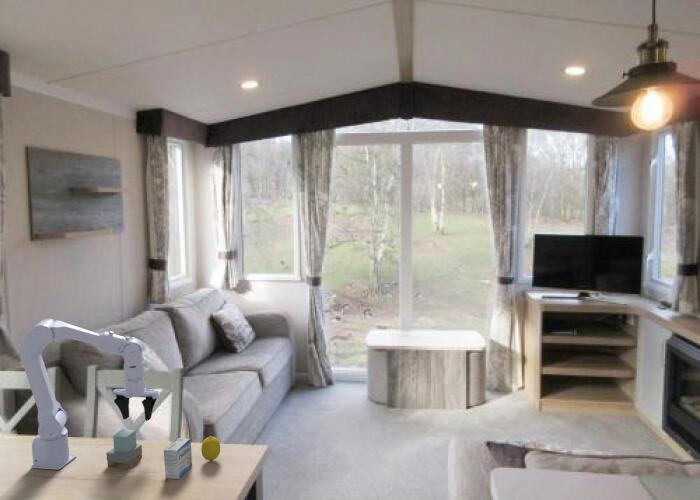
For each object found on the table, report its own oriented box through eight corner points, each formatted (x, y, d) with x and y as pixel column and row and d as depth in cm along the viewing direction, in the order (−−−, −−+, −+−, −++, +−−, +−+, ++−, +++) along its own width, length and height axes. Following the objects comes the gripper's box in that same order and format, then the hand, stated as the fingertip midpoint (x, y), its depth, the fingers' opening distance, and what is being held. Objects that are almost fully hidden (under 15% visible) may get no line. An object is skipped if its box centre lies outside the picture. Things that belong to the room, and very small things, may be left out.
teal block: (114, 451, 159) (113, 435, 158) (123, 444, 163) (122, 429, 162) (127, 452, 158) (126, 437, 157) (136, 445, 162) (135, 430, 161)
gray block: (106, 460, 158) (106, 452, 158) (123, 449, 165) (122, 441, 165) (126, 463, 156) (125, 455, 156) (142, 452, 163) (141, 444, 163)
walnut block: (107, 469, 158) (107, 461, 158) (121, 457, 165) (121, 450, 165) (129, 471, 157) (128, 463, 157) (142, 459, 164) (141, 451, 163)
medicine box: (179, 479, 150) (177, 451, 149) (164, 478, 151) (163, 449, 150) (192, 465, 158) (191, 438, 157) (179, 464, 159) (177, 437, 158)
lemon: (198, 464, 159) (197, 438, 158) (209, 455, 164) (208, 430, 163) (213, 467, 157) (212, 441, 156) (224, 458, 162) (223, 433, 161)
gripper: (105, 381, 163) (108, 423, 164) (149, 383, 160) (151, 425, 162) (119, 373, 169) (121, 413, 171) (160, 374, 167) (163, 415, 169)
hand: (137, 418), depth 167 cm, fingers open, 7 cm apart
